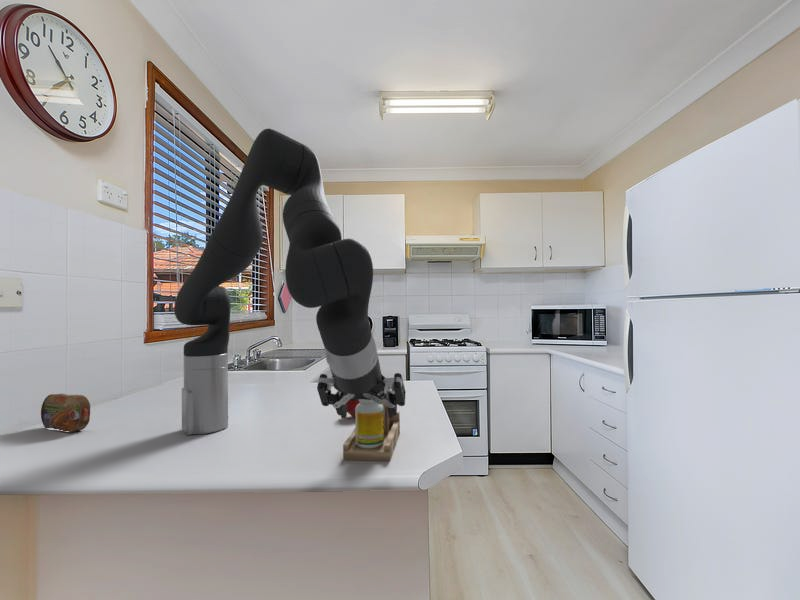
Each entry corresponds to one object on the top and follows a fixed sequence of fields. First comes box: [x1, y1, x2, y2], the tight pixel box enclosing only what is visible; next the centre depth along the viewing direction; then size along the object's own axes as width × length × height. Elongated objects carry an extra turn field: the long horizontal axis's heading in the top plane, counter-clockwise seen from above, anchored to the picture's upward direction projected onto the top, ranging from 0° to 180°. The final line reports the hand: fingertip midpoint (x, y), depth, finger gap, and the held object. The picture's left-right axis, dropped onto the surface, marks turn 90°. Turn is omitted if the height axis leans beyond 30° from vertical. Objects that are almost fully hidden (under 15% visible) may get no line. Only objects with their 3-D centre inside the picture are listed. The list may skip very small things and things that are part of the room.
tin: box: [40, 393, 91, 433], centre depth 92 cm, size 15×3×8 cm, turn 68°
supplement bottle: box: [354, 394, 384, 449], centre depth 74 cm, size 5×5×10 cm
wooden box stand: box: [342, 386, 401, 462], centre depth 78 cm, size 16×8×12 cm, turn 174°
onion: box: [346, 399, 360, 418], centre depth 98 cm, size 6×6×8 cm
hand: (368, 413), depth 70 cm, fingers open, 8 cm apart
